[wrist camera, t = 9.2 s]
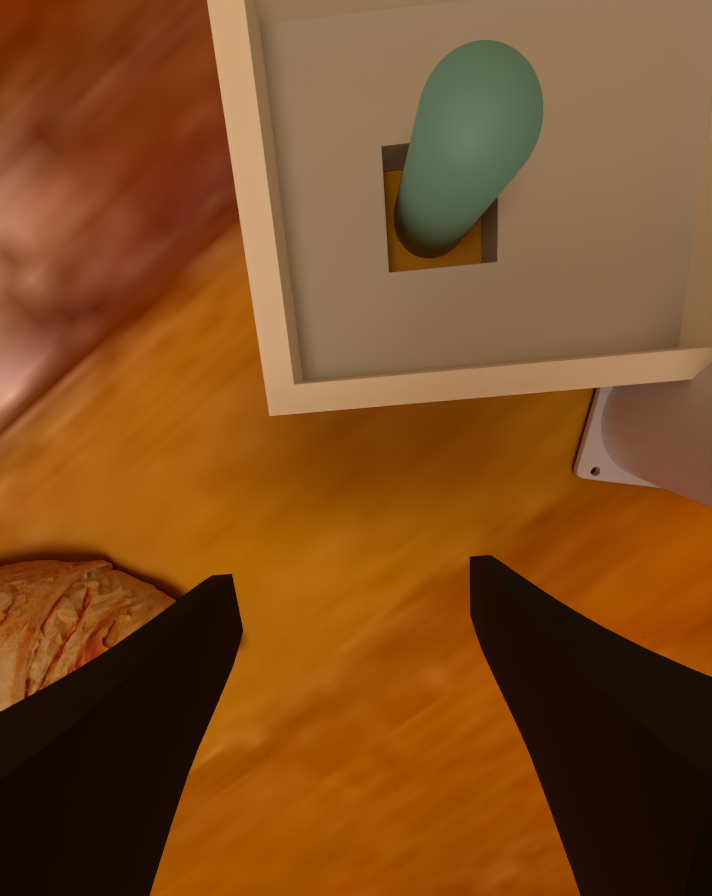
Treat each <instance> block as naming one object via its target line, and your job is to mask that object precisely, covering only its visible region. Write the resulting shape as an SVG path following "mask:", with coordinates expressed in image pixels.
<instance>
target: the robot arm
mask: <svg viewBox="0 0 712 896" xmlns="http://www.w3.org/2000/svg"><path fill="white" fill-rule="evenodd" d="M594 467H596V470H595V472H594V473H592V474H591V470H592V468H594ZM574 473H575V474H576V475H577V476H578V477H580V478H583V479H590V480H599V481H607V482H615V483H624V484H632V485H640V486H648V487H657V488H663V489H666V490H668V491H671V492H673V493H675V494H678V495H680V496H682V497H685V498H687V499H690V500H692V501H694V502H697V503H699V504H702V505H704V506H706V507H709V508H711V509H712V362H711V363H710V364H709V365H708V366H706V367H705V368H704V369H703V370H701V371H700V372H699V373H698V374H697V375H696V376H695V377H694V378H693V379H691V380H679V381H668V382H656V383H645V384H633V385H622V386H610V387H598V388H597V389H596V393H595V396H594V400H593V403H592V407H591V410H590V413H589V417H588V420H587V424H586V427H585V431H584V434H583V438H582V441H581V445H580V448H579V452H578V455H577V459H576V462H575V465H574ZM470 616H471V619H472V622H473V625H474V628H475V631H476V634H477V637H478V640H479V643H480V646H481V649H482V651H483V653H484V656H485V658H486V660H487V662H488V664H489V666H490V669H491V671H492V673H493V675H494V677H495V679H496V682H497V684H498V686H499V688H500V690H501V692H502V694H503V696H504V699H505V701H506V703H507V705H508V707H509V709H510V711H511V713H512V716H513V718H514V720H515V722H516V724H517V726H518V728H519V731H520V733H521V735H522V737H523V740H524V742H525V744H526V747H527V749H528V751H529V754H530V756H531V759H532V761H533V764H534V767H535V769H536V772H537V775H538V777H539V780H540V783H541V785H542V788H543V791H544V793H545V796H546V799H547V802H548V804H549V807H550V810H551V813H552V815H553V818H554V821H555V824H556V827H557V829H558V832H559V835H560V838H561V840H562V843H563V846H564V849H565V852H566V854H567V857H568V860H569V863H570V866H571V869H572V871H573V874H574V877H575V880H576V883H577V886H578V889H579V892H580V895H581V896H712V677H710V676H708V675H705V674H703V673H700V672H698V671H695V670H693V669H691V668H688V667H686V666H684V665H682V664H679V663H677V662H675V661H673V660H670V659H668V658H666V657H663V656H661V655H659V654H657V653H654V652H652V651H650V650H648V649H646V648H644V647H642V646H640V645H638V644H636V643H633V642H631V641H630V640H628V639H626V638H624V637H622V636H620V635H618V634H616V633H614V632H612V631H610V630H608V629H606V628H604V627H602V626H601V625H599V624H597V623H595V622H593V621H592V620H590V619H588V618H586V617H585V616H583V615H581V614H580V613H578V612H576V611H575V610H573V609H571V608H570V607H568V606H566V605H564V604H563V603H561V602H560V601H558V600H557V599H555V598H553V597H552V596H550V595H549V594H547V593H546V592H544V591H543V590H541V589H540V588H538V587H537V586H535V585H534V584H532V583H531V582H529V581H528V580H526V579H525V578H523V577H522V576H520V575H519V574H518V573H516V572H515V571H513V570H512V569H510V568H509V567H508V566H506V565H505V564H503V563H502V562H500V561H499V560H497V559H496V558H494V557H493V556H491V555H486V556H472V557H470ZM242 633H243V628H242V623H241V617H240V612H239V607H238V602H237V597H236V592H235V587H234V582H233V577H232V574H225V575H212V576H211V577H209V578H207V579H206V580H204V581H203V582H201V583H200V584H199V585H197V586H196V587H195V588H193V589H192V590H190V591H189V592H188V593H186V594H185V595H184V596H182V597H181V598H180V599H178V600H177V601H176V602H174V603H173V604H172V605H170V606H169V607H168V608H166V609H165V610H164V611H162V612H161V613H160V614H158V615H157V616H156V617H154V618H153V619H151V620H150V621H149V622H147V623H146V624H144V625H143V626H142V627H140V628H139V629H137V630H136V631H134V632H133V633H131V634H130V635H129V636H127V637H126V638H124V639H123V640H121V641H120V642H119V643H117V644H116V645H114V646H113V647H111V648H110V649H108V650H107V651H105V652H104V653H102V654H100V655H99V656H97V657H96V658H94V659H93V660H91V661H89V662H88V663H86V664H84V665H83V666H81V667H79V668H78V669H76V670H74V671H73V672H71V673H69V674H68V675H66V676H64V677H63V678H61V679H59V680H58V681H56V682H54V683H52V684H50V685H48V686H47V687H45V688H43V689H41V690H39V691H37V692H35V693H34V694H32V695H30V696H28V697H26V698H24V699H23V700H21V701H19V702H17V703H15V704H13V705H11V706H10V707H8V708H6V709H4V710H2V711H0V896H150V892H151V889H152V885H153V882H154V879H155V876H156V872H157V869H158V866H159V863H160V860H161V856H162V853H163V850H164V847H165V844H166V840H167V837H168V834H169V831H170V827H171V824H172V821H173V818H174V815H175V812H176V809H177V806H178V803H179V800H180V797H181V794H182V791H183V788H184V785H185V782H186V779H187V776H188V773H189V771H190V768H191V766H192V763H193V760H194V758H195V755H196V753H197V750H198V748H199V745H200V743H201V741H202V738H203V736H204V734H205V731H206V729H207V727H208V724H209V722H210V720H211V717H212V715H213V713H214V710H215V708H216V706H217V703H218V701H219V699H220V696H221V694H222V691H223V689H224V687H225V684H226V682H227V679H228V677H229V675H230V672H231V670H232V667H233V664H234V661H235V658H236V655H237V651H238V648H239V644H240V640H241V637H242Z"/></svg>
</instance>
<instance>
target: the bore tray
mask: <svg viewBox="0 0 712 896" xmlns="http://www.w3.org/2000/svg"><path fill="white" fill-rule="evenodd" d="M207 3H208V9H209V16H210V23H211V29H212V36H213V43H214V49H215V56H216V63H217V69H218V76H219V83H220V89H221V96H222V103H223V109H224V116H225V123H226V129H227V136H228V143H229V149H230V156H231V163H232V170H233V176H234V183H235V190H236V196H237V203H238V210H239V216H240V223H241V230H242V236H243V243H244V250H245V256H246V263H247V270H248V276H249V283H250V290H251V296H252V303H253V310H254V316H255V323H256V330H257V336H258V343H259V350H260V356H261V363H262V370H263V376H264V383H265V390H266V396H267V403H268V410H269V416H275V415H287V414H298V413H310V412H322V411H333V410H345V409H356V408H368V407H379V406H391V405H402V404H414V403H425V402H437V401H448V400H460V399H472V398H483V397H495V396H506V395H518V394H529V393H541V392H552V391H564V390H575V389H587V388H598V387H610V386H622V385H633V384H645V383H656V382H668V381H679V380H691V379H693V378H694V377H695V376H696V375H697V374H698V373H699V372H700V371H701V370H703V369H704V368H705V367H706V366H708V365H709V364H710V363H711V362H712V0H207ZM478 40H494V41H499V42H502V43H505V44H507V45H509V46H511V47H513V48H515V49H516V50H517V51H519V52H520V53H521V54H522V55H523V56H524V57H525V58H526V59H527V60H528V62H529V63H530V64H531V66H532V67H533V69H534V71H535V73H536V75H537V77H538V80H539V83H540V86H541V90H542V96H543V122H542V127H541V132H540V135H539V138H538V141H537V144H536V146H535V148H534V150H533V152H532V154H531V155H530V157H529V159H528V160H527V162H526V163H525V164H524V166H523V167H522V168H521V169H520V170H519V172H518V173H517V174H516V175H515V176H514V178H513V179H512V180H511V181H510V182H509V183H508V185H507V186H506V187H505V188H504V189H503V191H502V192H501V193H500V194H499V195H498V197H497V198H496V199H495V200H494V201H493V202H492V204H491V205H490V206H489V207H488V208H487V210H486V211H485V212H484V213H483V214H482V264H472V265H462V266H451V267H441V268H431V269H421V270H411V271H401V272H390V273H389V265H388V249H387V232H386V215H385V198H384V181H383V171H390V170H400V169H404V165H405V161H406V157H407V153H408V148H409V144H410V140H411V135H412V131H413V127H414V122H415V118H416V114H417V109H418V105H419V101H420V97H421V94H422V91H423V88H424V86H425V84H426V82H427V80H428V78H429V76H430V74H431V73H432V71H433V70H434V68H435V67H436V66H437V65H438V63H439V62H440V61H441V60H442V59H443V58H444V57H445V56H446V55H447V54H449V53H450V52H452V51H453V50H454V49H456V48H458V47H460V46H462V45H464V44H466V43H469V42H472V41H478Z"/></svg>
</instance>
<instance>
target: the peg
mask: <svg viewBox="0 0 712 896" xmlns="http://www.w3.org/2000/svg"><path fill="white" fill-rule="evenodd" d="M542 122H543V96H542V90H541V86H540V83H539V80H538V77H537V75H536V73H535V71H534V69H533V67H532V66H531V64H530V63H529V62H528V60H527V59H526V58H525V57H524V56H523V55H522V54H521V53H520V52H519V51H517V50H516V49H515V48H513V47H511V46H509V45H507V44H505V43H502V42H499V41H494V40H478V41H472V42H469V43H466V44H464V45H462V46H460V47H458V48H456V49H454V50H453V51H452V52H450V53H449V54H447V55H446V56H445V57H444V58H443V59H442V60H441V61H440V62H439V63H438V65H437V66H436V67H435V68H434V70H433V71H432V73H431V74H430V76H429V78H428V80H427V82H426V84H425V86H424V88H423V91H422V94H421V97H420V101H419V105H418V109H417V114H416V118H415V122H414V127H413V131H412V135H411V140H410V144H409V148H408V153H407V157H406V161H405V165H404V170H403V174H402V178H401V183H400V187H399V191H398V196H397V200H396V204H395V209H394V228H395V232H396V234H397V237H398V239H399V241H400V242H401V244H402V245H403V246H404V247H405V248H406V249H407V250H408V251H409V252H411V253H412V254H414V255H416V256H419V257H422V258H436V257H439V256H442V255H444V254H446V253H448V252H449V251H451V250H452V249H453V248H454V247H455V246H456V245H457V244H458V243H459V242H460V240H461V239H462V238H463V237H464V236H465V235H466V233H467V232H468V231H469V230H470V229H471V227H472V226H473V225H474V224H475V223H476V221H477V220H478V219H479V218H480V217H481V216H482V214H483V213H484V212H485V211H486V210H487V208H488V207H489V206H490V205H491V204H492V202H493V201H494V200H495V199H496V198H497V197H498V195H499V194H500V193H501V192H502V191H503V189H504V188H505V187H506V186H507V185H508V183H509V182H510V181H511V180H512V179H513V178H514V176H515V175H516V174H517V173H518V172H519V170H520V169H521V168H522V167H523V166H524V164H525V163H526V162H527V160H528V159H529V157H530V155H531V154H532V152H533V150H534V148H535V146H536V144H537V141H538V138H539V135H540V132H541V127H542Z"/></svg>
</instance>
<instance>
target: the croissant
mask: <svg viewBox="0 0 712 896" xmlns="http://www.w3.org/2000/svg"><path fill="white" fill-rule="evenodd" d="M112 568H113V565H112V563H109V562H107V561H105V560H101V559H100V560H93V561H85V562H61V561H58V560H36V561H27V562H19V563H14V564H8V565H3V566H1V567H0V711H2V710H4V709H6V708H8V707H10V706H11V705H13V704H15V703H17V702H19V701H21V700H23V699H24V698H26V697H28V696H30V695H32V694H34V693H35V692H37V691H39V690H41V689H43V688H45V687H47V686H48V685H50V684H52V683H54V682H56V681H58V680H59V679H61V678H63V677H64V676H66V675H68V674H69V673H71V672H73V671H74V670H76V669H78V668H79V667H81V666H83V665H84V664H86V663H88V662H89V661H91V660H93V659H94V658H96V657H97V656H99V655H100V654H102V653H104V652H105V651H107V650H108V649H110V648H111V647H113V646H114V645H116V644H117V643H119V642H120V641H121V640H123V639H124V638H126V637H127V636H129V635H130V634H131V633H133V632H134V631H136V630H137V629H139V628H140V627H142V626H143V625H144V624H146V623H147V622H149V621H150V620H151V619H153V618H154V617H156V616H157V615H158V614H160V613H161V612H162V611H164V610H165V609H166V608H168V607H169V606H170V605H172V604H173V603H174V602H176V600H175V599H173V598H171V597H169V596H167V595H166V594H165V593H164V592H161V591H159V590H158V589H156V588H155V587H154V585H152V584H149V583H146V582H143V581H141V580H138V579H136V578H134V577H132V576H130V575H128V574H126V573H124V572H122V571H119V570H112ZM232 668H233V667H232Z"/></svg>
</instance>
